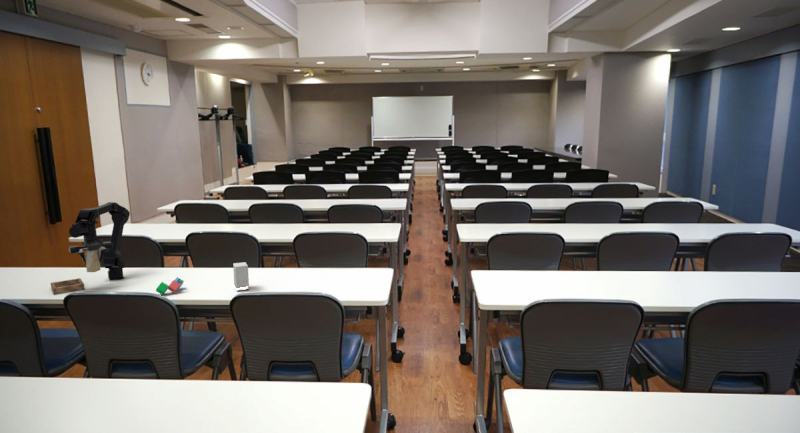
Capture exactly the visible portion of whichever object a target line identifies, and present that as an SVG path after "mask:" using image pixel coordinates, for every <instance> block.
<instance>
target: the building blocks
mask: <svg viewBox="0 0 800 433" xmlns="http://www.w3.org/2000/svg"><path fill="white" fill-rule="evenodd" d="M184 282H185V280H183V279H181V278H180V277H178V276H177V277H176V278H175V279H173V280H172V281H171V283H170V284H167V283H165V282H164V281H161V282H160V283H159V285H158V286H157V287H156V289H155V291H156V292H157V293H159V294H160V295H162V296H164V295H165V293H166V292H167V290H169V291H170V292H171V293H174V292H175V293H176V292H177V291H178V290H179V289H180V288H181V287H182V286H183V284H184Z"/></svg>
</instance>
